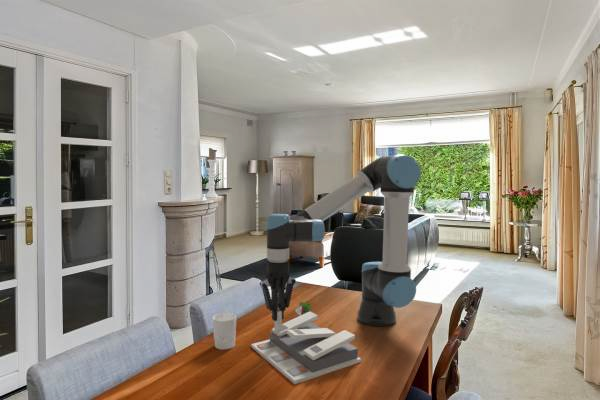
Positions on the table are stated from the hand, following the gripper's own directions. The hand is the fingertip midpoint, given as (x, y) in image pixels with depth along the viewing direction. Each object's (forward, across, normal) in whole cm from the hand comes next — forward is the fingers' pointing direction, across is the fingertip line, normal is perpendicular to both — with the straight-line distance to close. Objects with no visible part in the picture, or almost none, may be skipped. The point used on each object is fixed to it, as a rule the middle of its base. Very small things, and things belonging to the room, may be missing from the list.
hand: (277, 329), depth 132 cm
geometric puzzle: (+6, -21, -16) cm, 27 cm away
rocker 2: (-1, -7, +10) cm, 12 cm away
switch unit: (+6, -4, +10) cm, 12 cm away
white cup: (+6, +15, -10) cm, 19 cm away
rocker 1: (-1, -7, 0) cm, 7 cm away
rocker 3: (-1, -7, +20) cm, 21 cm away
